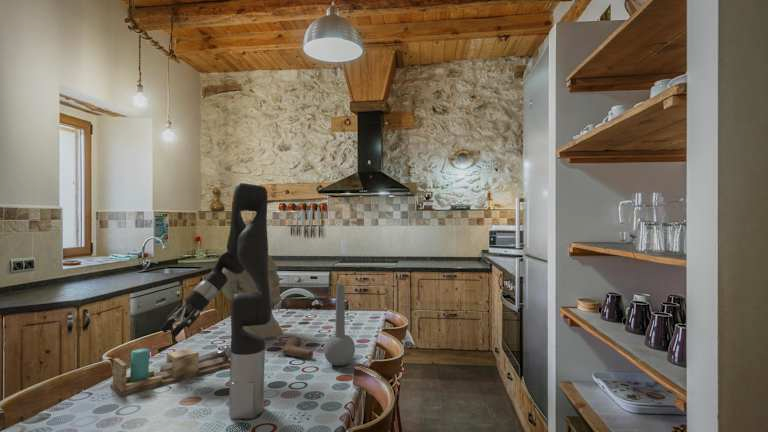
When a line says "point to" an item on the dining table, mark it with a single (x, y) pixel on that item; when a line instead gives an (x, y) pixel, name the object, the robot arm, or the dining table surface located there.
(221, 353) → the shaft
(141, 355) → the cylinder
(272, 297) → the bust
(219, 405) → the dining table surface
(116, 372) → the rig
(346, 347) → the grey ball with stem
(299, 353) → the pipe
